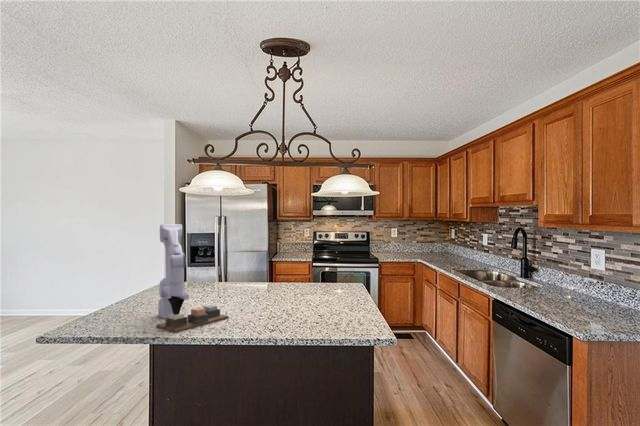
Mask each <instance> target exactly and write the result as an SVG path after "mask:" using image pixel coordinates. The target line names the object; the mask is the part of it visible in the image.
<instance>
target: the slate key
mask: <svg viewBox="0 0 640 426" xmlns="http://www.w3.org/2000/svg"><path fill="white" fill-rule="evenodd" d="M203 308H205V309H206V311H214V310H217V309H218V305H213V304H208V305H204V306H203Z"/></svg>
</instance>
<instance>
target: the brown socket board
mask: <svg viewBox="0 0 640 426" xmlns="http://www.w3.org/2000/svg"><path fill="white" fill-rule="evenodd" d="M229 317H230V316H228V315H225V314H221V309H219V308H217V310H214V311H206V315H202V316H198V317H197V316H193V315H191V313H189V314H188V315H187V316H184V318H181V319H176V320H173V319H169V317H168V318H166V319H165V322H161V323H157V324H155V326H156V328H158V329H162V330H165V331H168V332H171V333H175V334H176V333H179V332H185V331H187V330H191V329H195V328H198V327H202V326H206V325H209V324H213V323H216V322H217V323H218V322H220V321H224V320H227V319H230V318H229Z"/></svg>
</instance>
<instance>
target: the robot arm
mask: <svg viewBox="0 0 640 426" xmlns="http://www.w3.org/2000/svg"><path fill="white" fill-rule="evenodd" d="M182 236H183V224H181V223H178V224H175V223H172V224H171V223H170V224H168V223H167V224H164V223H161V224H160V225H159V240H160V243H163V245H164V248H165V249H164V250H165V255H164V256H165V277H164V278H162V279H161V280H160V282H159V289H158V290H159V292H158V294H159V297H160V299H159V300H158V306H157V307H158V312H157V313H158V314H157V315H156V317H158V318H160V319H161V318H162V319H165V320H166V318H168V317H169V314H174V315H177V314H179V313H181V310H182V309H181V308H182V306H183V304H184V302H185V300H189V298H190V294H188V293H186V292H185V291H184V290H185V286H184V285H185V281H184V280H185V268H186V255H185V252H183V248H182V245H181V244H180V243H179V242H181V240H182V239H181V238H182Z"/></svg>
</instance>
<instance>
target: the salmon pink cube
mask: <svg viewBox="0 0 640 426" xmlns="http://www.w3.org/2000/svg"><path fill="white" fill-rule="evenodd" d="M190 314H191V315H193V316H197V317H198V316H202V315H206V309H205V308H204V307H194V308H191V309H190Z"/></svg>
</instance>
